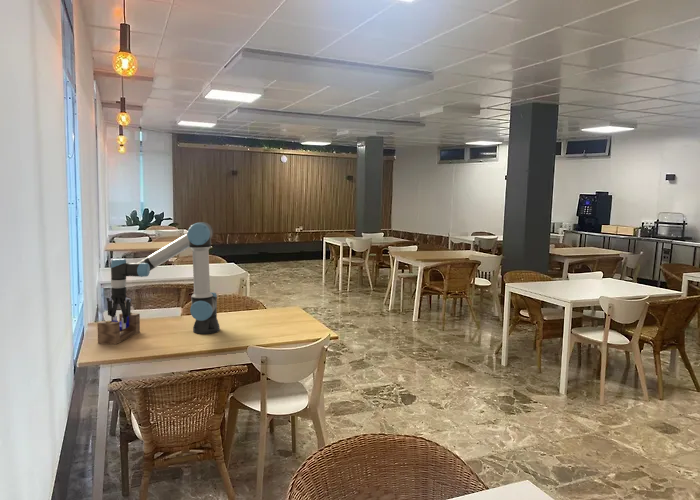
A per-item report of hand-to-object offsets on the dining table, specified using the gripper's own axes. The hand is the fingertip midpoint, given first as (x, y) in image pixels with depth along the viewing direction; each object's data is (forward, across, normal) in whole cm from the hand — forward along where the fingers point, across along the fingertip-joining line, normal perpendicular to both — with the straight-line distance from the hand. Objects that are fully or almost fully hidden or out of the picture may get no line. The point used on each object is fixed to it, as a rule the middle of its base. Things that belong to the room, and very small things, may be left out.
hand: (119, 328), depth 278 cm
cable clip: (0, 0, 0) cm, 1 cm away
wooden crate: (+5, 0, 0) cm, 5 cm away
